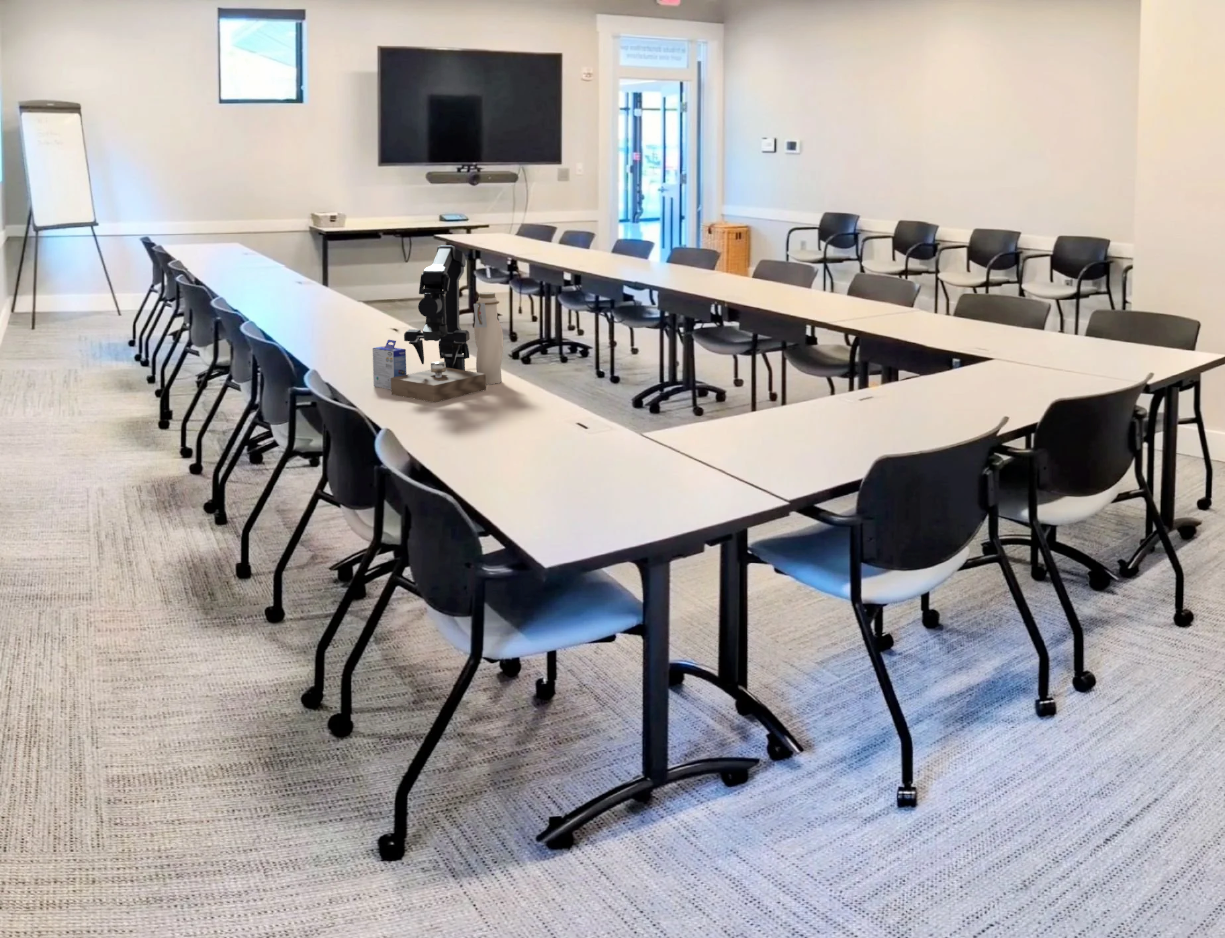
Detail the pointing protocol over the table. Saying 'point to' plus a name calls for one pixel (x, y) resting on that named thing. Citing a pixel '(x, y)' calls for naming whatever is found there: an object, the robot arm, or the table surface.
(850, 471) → the table surface
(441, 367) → the plunger
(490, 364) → the water bottle
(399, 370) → the ink cartridge box
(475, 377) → the press block
